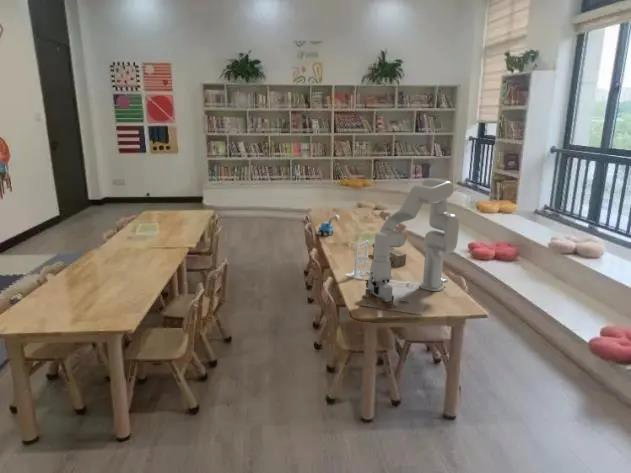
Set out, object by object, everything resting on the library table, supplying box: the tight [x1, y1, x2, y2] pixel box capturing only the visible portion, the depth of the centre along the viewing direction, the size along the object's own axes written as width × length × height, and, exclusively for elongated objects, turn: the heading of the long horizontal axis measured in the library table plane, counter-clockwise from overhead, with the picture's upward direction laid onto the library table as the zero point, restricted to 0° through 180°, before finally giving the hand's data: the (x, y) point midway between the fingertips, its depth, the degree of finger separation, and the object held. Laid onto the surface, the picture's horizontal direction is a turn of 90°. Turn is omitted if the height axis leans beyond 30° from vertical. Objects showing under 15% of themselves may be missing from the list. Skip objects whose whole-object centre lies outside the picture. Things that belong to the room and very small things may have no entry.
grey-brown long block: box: [372, 242, 407, 268], centre depth 299 cm, size 8×8×29 cm
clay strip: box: [367, 279, 394, 302], centre depth 229 cm, size 4×16×7 cm, turn 26°
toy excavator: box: [317, 214, 340, 238], centre depth 355 cm, size 9×17×17 cm, turn 57°
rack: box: [361, 288, 397, 311], centre depth 230 cm, size 8×18×5 cm, turn 26°
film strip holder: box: [344, 239, 371, 281], centre depth 267 cm, size 14×14×20 cm
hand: (379, 292), depth 229 cm, fingers closed on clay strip, 3 cm apart
